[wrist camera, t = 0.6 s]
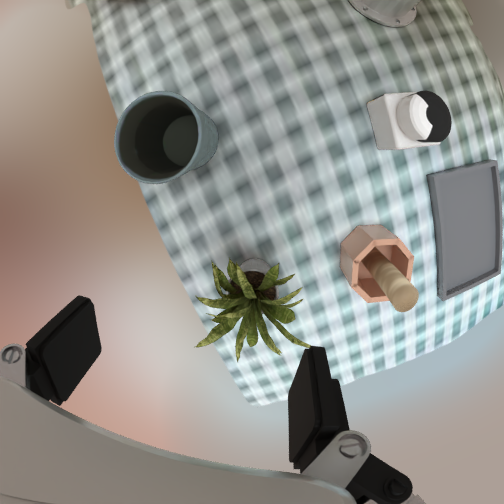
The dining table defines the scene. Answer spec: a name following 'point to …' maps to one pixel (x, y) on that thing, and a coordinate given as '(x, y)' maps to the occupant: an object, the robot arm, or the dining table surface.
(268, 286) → the house plant
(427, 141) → the medicine bottle
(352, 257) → the cup
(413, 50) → the dining table surface
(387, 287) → the dowel
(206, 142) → the blue-grey plant pot
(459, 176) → the tray
